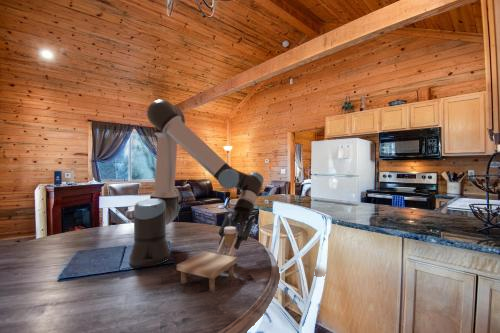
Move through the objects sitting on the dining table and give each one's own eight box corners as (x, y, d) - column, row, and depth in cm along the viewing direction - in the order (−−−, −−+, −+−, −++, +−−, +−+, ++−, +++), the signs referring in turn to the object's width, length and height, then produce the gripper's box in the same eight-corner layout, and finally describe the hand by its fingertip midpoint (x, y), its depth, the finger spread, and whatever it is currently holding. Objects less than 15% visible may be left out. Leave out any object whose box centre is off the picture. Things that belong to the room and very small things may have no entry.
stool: (176, 283, 79) (176, 265, 79) (203, 267, 91) (203, 251, 91) (213, 294, 73) (213, 273, 73) (237, 275, 85) (237, 257, 85)
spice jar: (221, 264, 93) (221, 228, 93) (227, 259, 98) (227, 225, 97) (233, 266, 92) (233, 229, 91) (238, 261, 96) (238, 226, 96)
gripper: (267, 210, 104) (249, 264, 90) (231, 207, 112) (209, 256, 97) (262, 199, 99) (242, 254, 85) (225, 196, 107) (200, 246, 93)
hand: (224, 254), depth 91 cm, fingers closed on spice jar, 4 cm apart
